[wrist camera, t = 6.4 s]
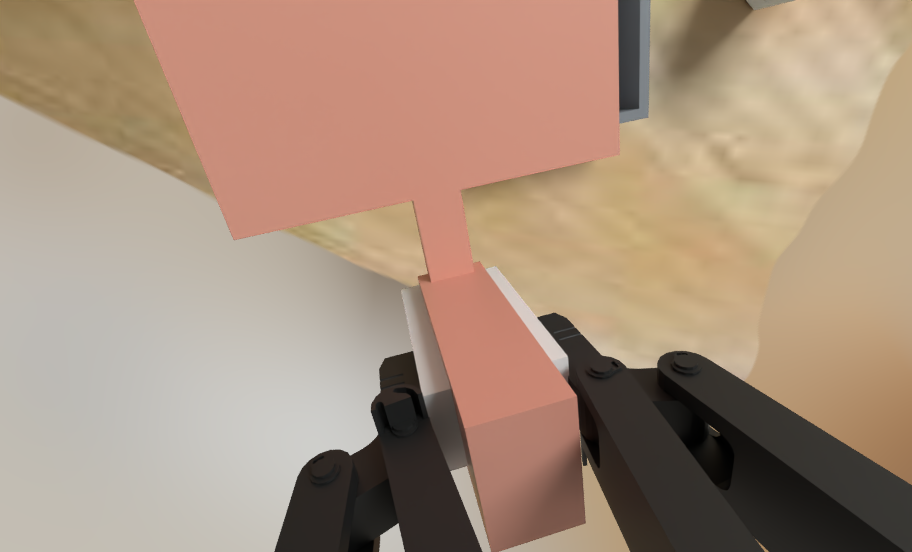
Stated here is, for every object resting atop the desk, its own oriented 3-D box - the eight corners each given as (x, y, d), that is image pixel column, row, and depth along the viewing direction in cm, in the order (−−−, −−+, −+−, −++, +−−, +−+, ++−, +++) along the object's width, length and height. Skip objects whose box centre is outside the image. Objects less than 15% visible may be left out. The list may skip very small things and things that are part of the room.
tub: (451, -125, 29) (467, -166, 25) (610, -146, 31) (653, -188, 26) (487, 141, 37) (504, 147, 32) (614, 115, 38) (648, 117, 33)
